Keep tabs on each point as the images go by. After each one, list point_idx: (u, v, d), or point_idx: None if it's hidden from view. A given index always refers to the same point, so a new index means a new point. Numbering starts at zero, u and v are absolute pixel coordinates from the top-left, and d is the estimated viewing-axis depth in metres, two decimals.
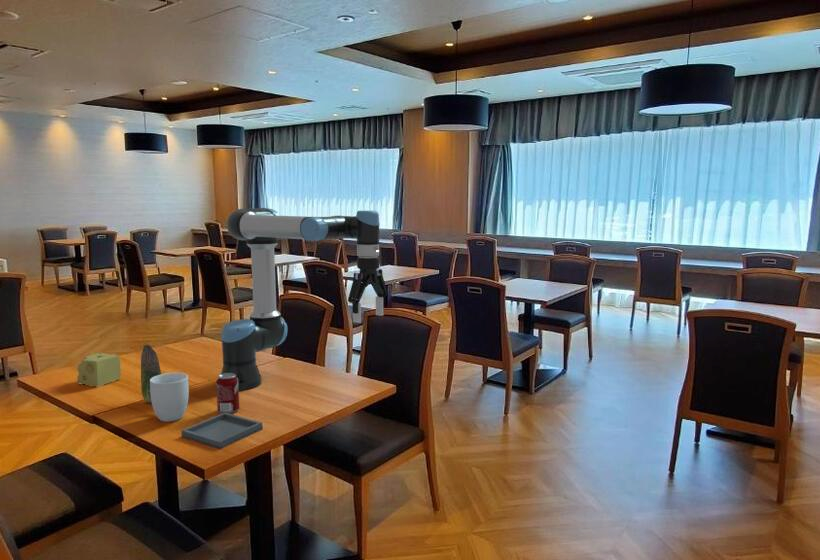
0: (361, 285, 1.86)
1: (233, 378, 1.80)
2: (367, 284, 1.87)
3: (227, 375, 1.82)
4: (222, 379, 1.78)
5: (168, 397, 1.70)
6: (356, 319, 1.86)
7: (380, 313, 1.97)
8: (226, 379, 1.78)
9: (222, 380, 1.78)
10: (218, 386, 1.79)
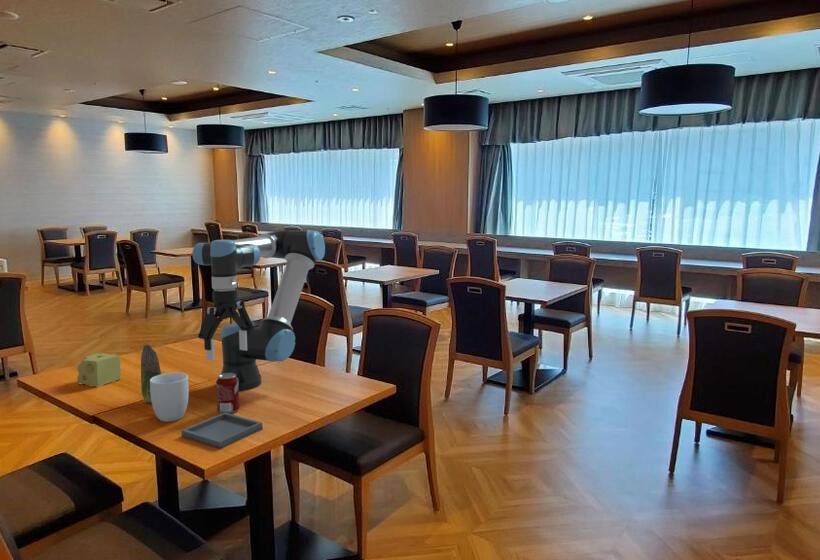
0: (215, 320, 1.75)
1: (233, 378, 1.80)
2: (222, 319, 1.75)
3: (227, 375, 1.82)
4: (222, 379, 1.78)
5: (168, 397, 1.70)
6: (209, 357, 1.74)
7: (244, 348, 1.85)
8: (226, 379, 1.78)
9: (222, 380, 1.78)
10: (218, 386, 1.79)
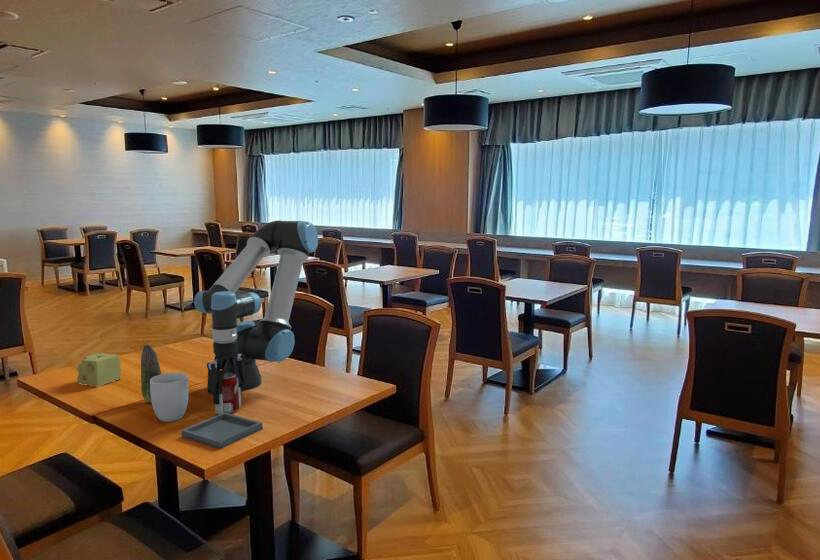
0: (219, 373, 1.78)
1: (233, 378, 1.80)
2: (225, 371, 1.78)
3: (227, 375, 1.82)
4: None
5: (168, 397, 1.70)
6: (218, 410, 1.79)
7: None
8: (226, 379, 1.78)
9: None
10: None
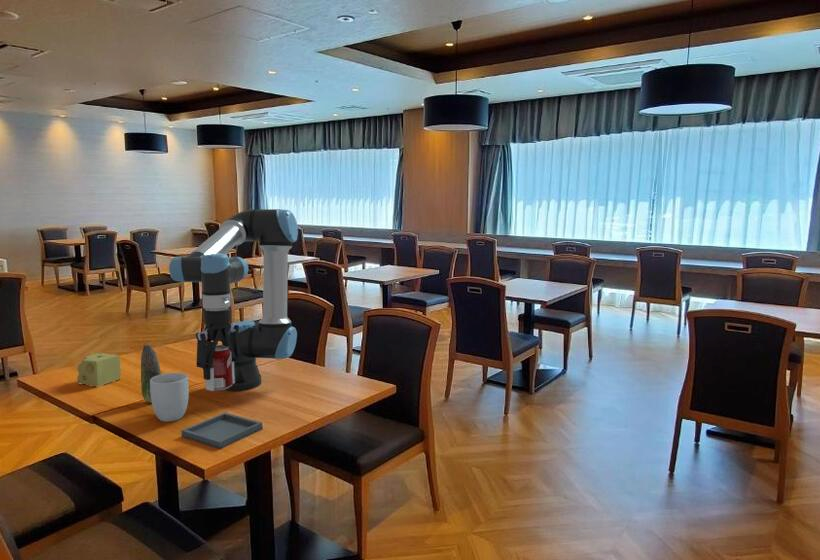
0: (210, 345, 1.59)
1: (225, 350, 1.61)
2: (216, 342, 1.59)
3: (219, 347, 1.63)
4: None
5: (168, 397, 1.70)
6: (208, 386, 1.60)
7: None
8: (218, 351, 1.59)
9: None
10: None
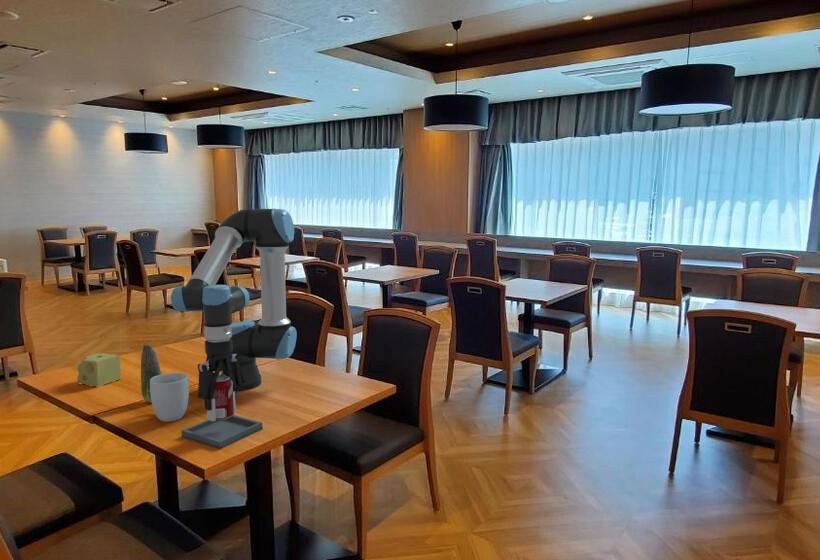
0: (211, 376, 1.60)
1: (227, 381, 1.62)
2: (218, 373, 1.60)
3: (220, 377, 1.65)
4: None
5: (168, 397, 1.70)
6: (210, 417, 1.61)
7: None
8: (219, 382, 1.61)
9: None
10: None
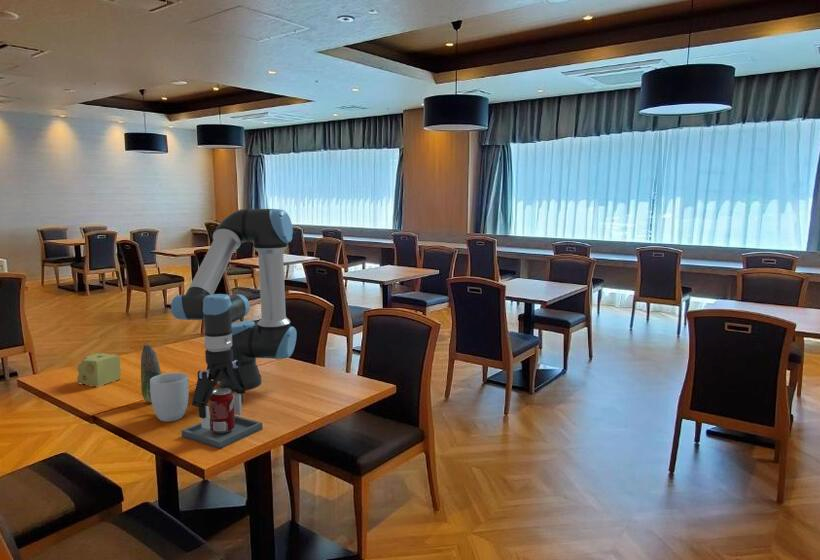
0: (209, 384, 1.60)
1: (228, 394, 1.63)
2: (216, 382, 1.60)
3: (222, 391, 1.65)
4: (216, 395, 1.62)
5: (168, 397, 1.70)
6: (204, 425, 1.60)
7: (238, 412, 1.69)
8: (221, 395, 1.62)
9: (216, 396, 1.62)
10: (212, 403, 1.62)
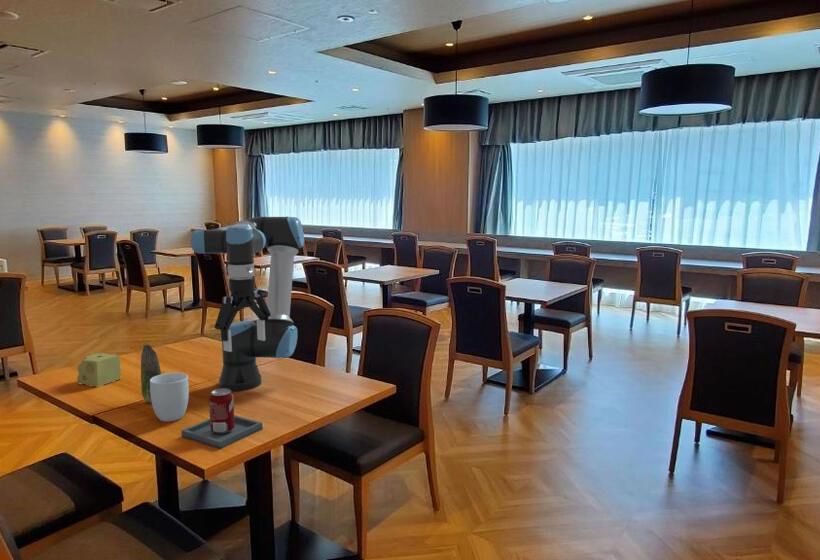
0: (232, 309, 1.68)
1: (228, 395, 1.63)
2: (239, 308, 1.68)
3: (221, 391, 1.65)
4: (215, 396, 1.61)
5: (168, 397, 1.70)
6: (226, 347, 1.68)
7: (262, 338, 1.79)
8: (220, 396, 1.61)
9: (215, 397, 1.61)
10: (211, 404, 1.62)
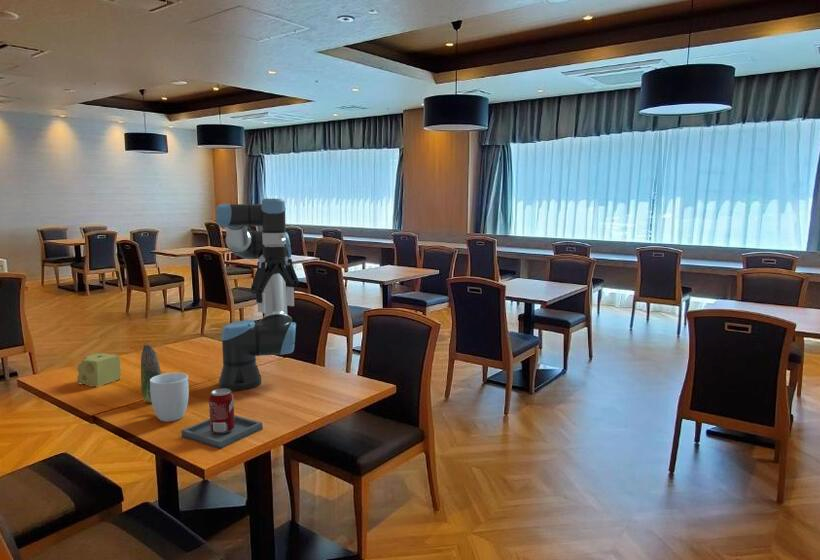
0: (266, 274, 1.83)
1: (228, 395, 1.63)
2: (272, 273, 1.83)
3: (221, 391, 1.65)
4: (215, 396, 1.61)
5: (168, 397, 1.70)
6: (260, 309, 1.82)
7: (291, 303, 1.93)
8: (220, 396, 1.61)
9: (215, 397, 1.61)
10: (211, 404, 1.62)
